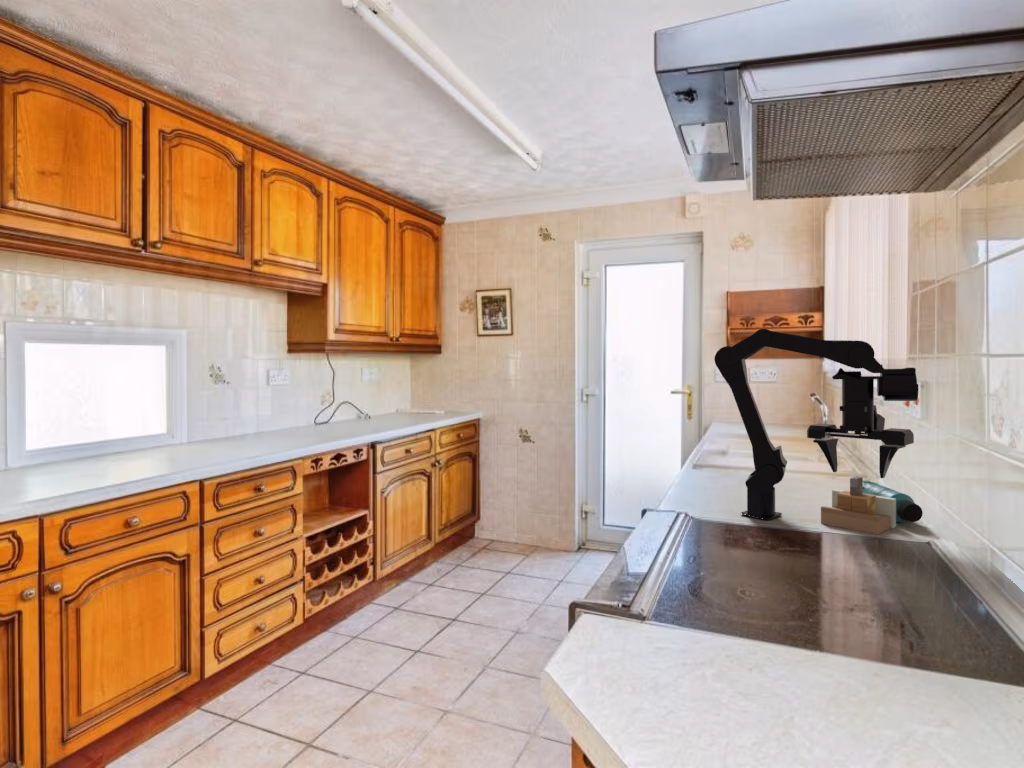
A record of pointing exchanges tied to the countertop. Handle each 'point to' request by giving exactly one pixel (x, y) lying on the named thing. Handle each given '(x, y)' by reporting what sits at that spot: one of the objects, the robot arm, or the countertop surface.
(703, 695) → the countertop surface
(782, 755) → the countertop surface
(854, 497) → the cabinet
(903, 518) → the beverage bottle
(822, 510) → the wooden stand with panel
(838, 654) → the countertop surface
